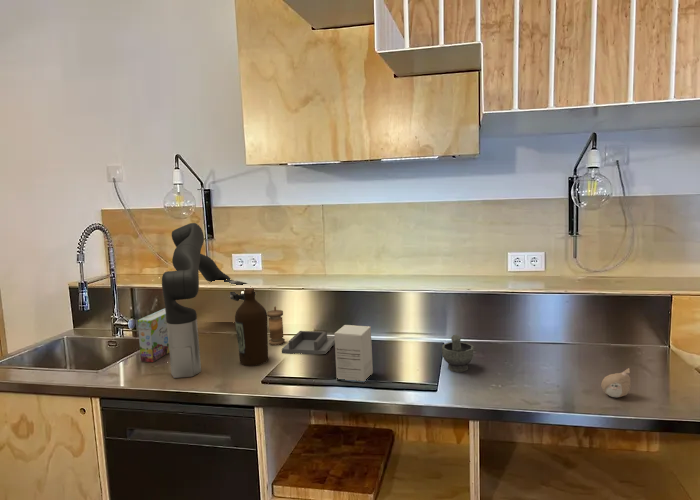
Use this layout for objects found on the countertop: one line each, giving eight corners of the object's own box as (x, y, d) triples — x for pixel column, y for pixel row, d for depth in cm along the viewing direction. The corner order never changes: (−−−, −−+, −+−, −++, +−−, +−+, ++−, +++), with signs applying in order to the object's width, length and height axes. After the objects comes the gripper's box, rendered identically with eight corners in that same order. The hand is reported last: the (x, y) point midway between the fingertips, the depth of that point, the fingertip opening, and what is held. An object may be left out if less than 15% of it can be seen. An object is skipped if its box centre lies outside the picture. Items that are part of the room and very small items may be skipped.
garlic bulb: (621, 403, 130) (622, 373, 129) (596, 395, 135) (597, 366, 134) (634, 396, 134) (635, 367, 132) (609, 388, 139) (610, 360, 138)
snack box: (154, 362, 175) (150, 320, 173) (140, 362, 176) (135, 319, 174) (186, 343, 196) (183, 304, 194) (173, 342, 197) (169, 304, 195)
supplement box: (346, 370, 160) (344, 324, 158) (373, 372, 157) (371, 325, 155) (335, 381, 152) (333, 332, 150) (364, 384, 149) (362, 334, 147)
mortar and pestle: (444, 361, 164) (443, 325, 163) (474, 363, 162) (474, 326, 160) (440, 374, 154) (439, 336, 152) (472, 376, 151) (471, 337, 149)
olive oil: (264, 353, 179) (260, 284, 176) (274, 362, 170) (269, 289, 167) (234, 359, 175) (229, 288, 171) (242, 369, 165) (237, 293, 162)
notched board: (336, 342, 189) (335, 330, 188) (325, 355, 175) (325, 342, 175) (295, 340, 193) (294, 329, 192) (281, 353, 179) (281, 340, 179)
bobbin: (284, 345, 188) (282, 309, 186) (268, 346, 188) (266, 310, 186) (285, 340, 194) (282, 305, 192) (269, 341, 193) (267, 306, 192)
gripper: (221, 284, 204) (241, 290, 192) (252, 278, 213) (273, 283, 201) (222, 302, 205) (242, 309, 193) (253, 296, 214) (274, 302, 202)
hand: (258, 296), depth 197 cm, fingers open, 8 cm apart
